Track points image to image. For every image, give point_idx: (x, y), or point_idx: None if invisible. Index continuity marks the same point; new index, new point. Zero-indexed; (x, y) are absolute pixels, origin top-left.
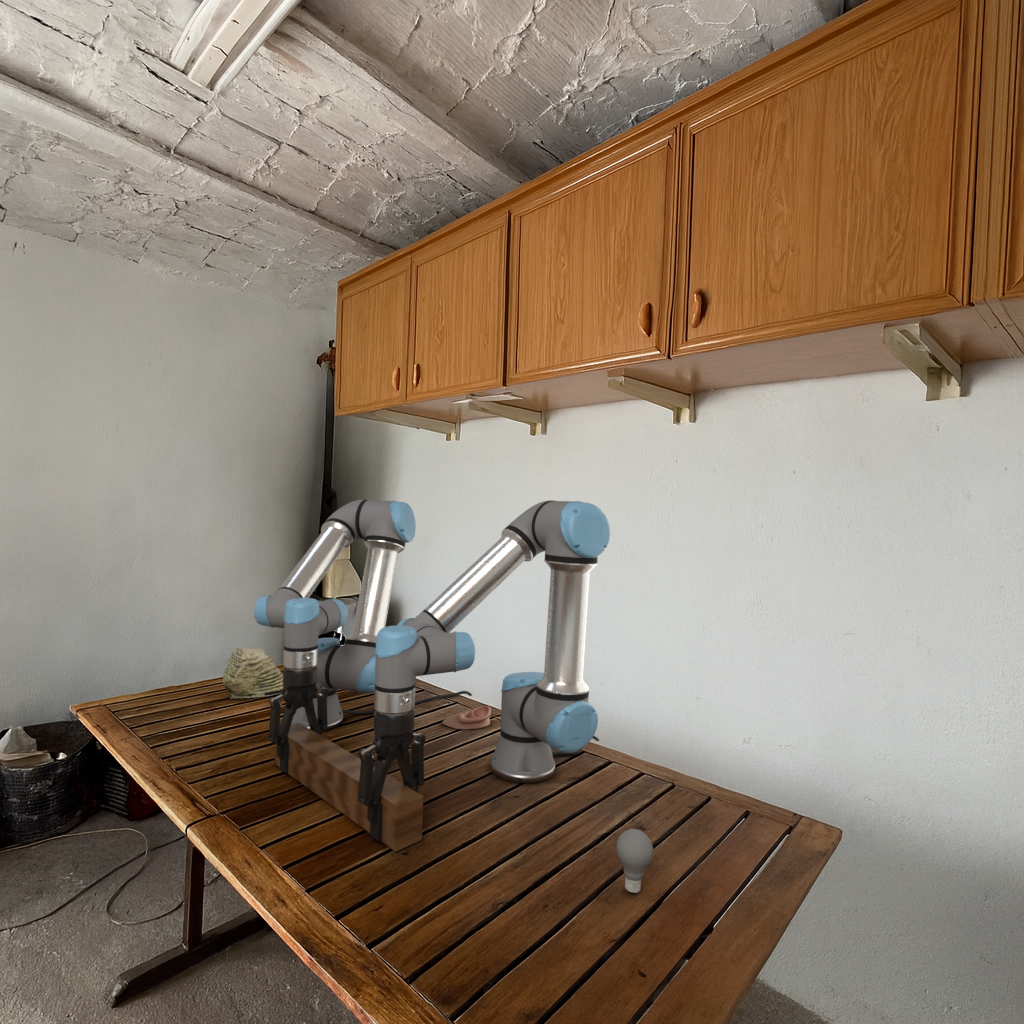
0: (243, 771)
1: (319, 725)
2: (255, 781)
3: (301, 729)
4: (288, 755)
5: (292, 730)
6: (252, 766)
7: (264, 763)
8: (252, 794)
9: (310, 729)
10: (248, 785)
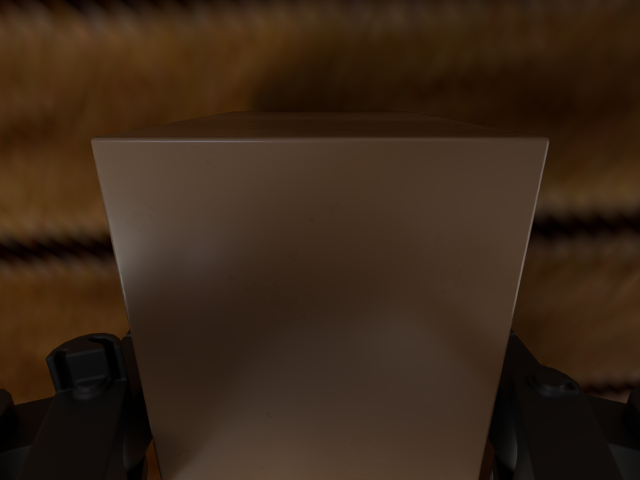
0: (33, 60)
1: (626, 475)
2: (76, 246)
3: (398, 409)
4: None
5: (287, 374)
6: (106, 14)
7: (194, 19)
8: (36, 362)
9: (479, 465)
10: (33, 268)
